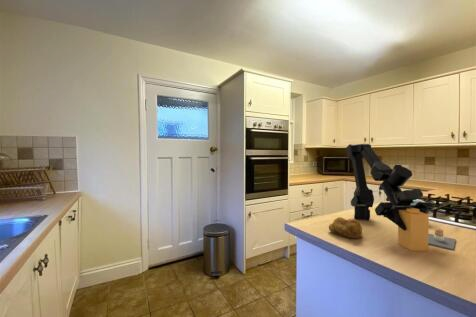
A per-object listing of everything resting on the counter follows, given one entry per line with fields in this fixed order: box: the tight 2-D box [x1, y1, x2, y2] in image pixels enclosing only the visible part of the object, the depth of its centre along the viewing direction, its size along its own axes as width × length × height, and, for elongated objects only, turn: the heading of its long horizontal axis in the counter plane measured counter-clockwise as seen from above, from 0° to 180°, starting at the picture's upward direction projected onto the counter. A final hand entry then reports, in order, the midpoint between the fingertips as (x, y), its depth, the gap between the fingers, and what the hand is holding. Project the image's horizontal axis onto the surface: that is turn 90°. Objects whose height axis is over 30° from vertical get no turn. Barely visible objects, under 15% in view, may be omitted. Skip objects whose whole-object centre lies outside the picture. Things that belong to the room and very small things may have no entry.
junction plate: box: [428, 227, 457, 251], centre depth 80 cm, size 12×8×5 cm
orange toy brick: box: [397, 208, 430, 251], centre depth 77 cm, size 6×6×14 cm
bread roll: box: [328, 217, 363, 240], centre depth 89 cm, size 13×10×8 cm
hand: (415, 229), depth 75 cm, fingers open, 7 cm apart
